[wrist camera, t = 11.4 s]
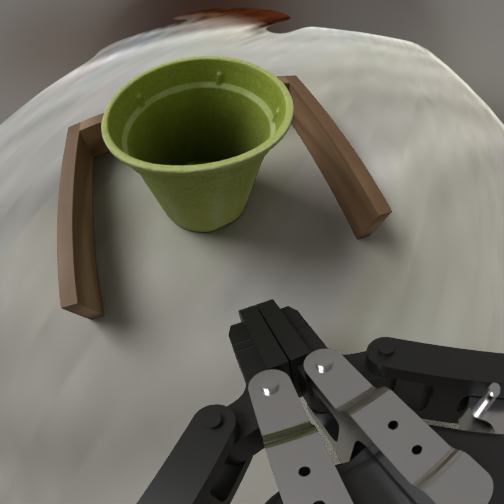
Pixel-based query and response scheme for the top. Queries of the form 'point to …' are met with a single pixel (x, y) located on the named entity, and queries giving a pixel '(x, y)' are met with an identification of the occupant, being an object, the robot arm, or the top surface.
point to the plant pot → (198, 134)
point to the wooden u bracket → (92, 144)
